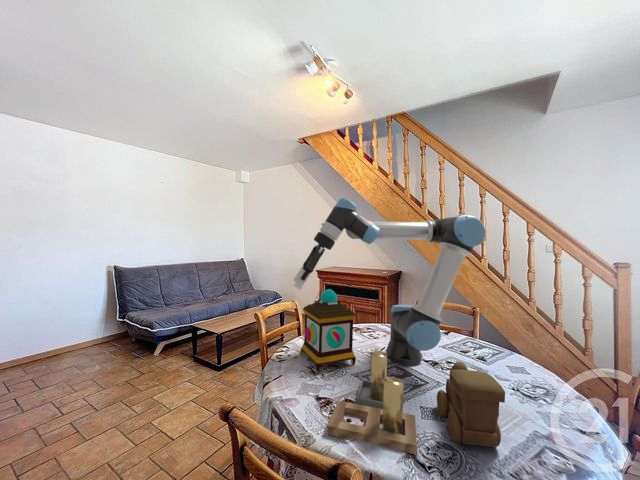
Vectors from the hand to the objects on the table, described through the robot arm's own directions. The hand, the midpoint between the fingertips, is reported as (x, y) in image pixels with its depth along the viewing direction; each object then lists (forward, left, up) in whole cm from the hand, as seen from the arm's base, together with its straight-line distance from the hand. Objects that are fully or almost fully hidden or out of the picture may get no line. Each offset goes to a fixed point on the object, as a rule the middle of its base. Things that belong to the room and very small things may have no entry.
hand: (296, 284), depth 104 cm
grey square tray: (-16, +27, -34) cm, 46 cm away
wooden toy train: (-27, +50, -34) cm, 66 cm away
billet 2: (-8, +41, -34) cm, 53 cm away
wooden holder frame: (-4, +37, -34) cm, 50 cm away
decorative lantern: (-18, -5, -34) cm, 39 cm away
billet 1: (-16, +27, -33) cm, 46 cm away
